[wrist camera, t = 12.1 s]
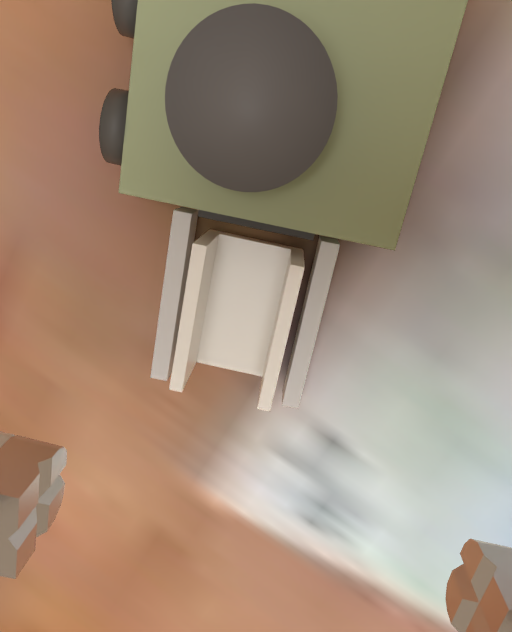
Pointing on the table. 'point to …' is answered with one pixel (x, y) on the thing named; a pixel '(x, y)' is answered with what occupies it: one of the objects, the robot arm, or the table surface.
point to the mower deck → (362, 129)
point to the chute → (238, 308)
